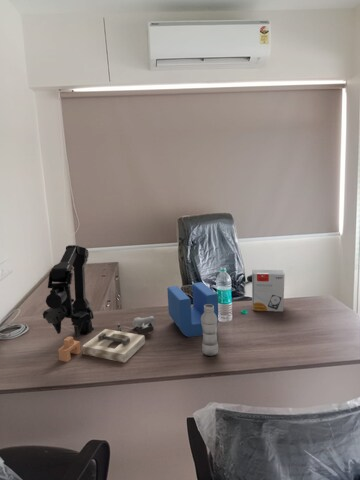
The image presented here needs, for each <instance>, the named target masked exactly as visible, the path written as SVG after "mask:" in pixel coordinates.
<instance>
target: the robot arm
mask: <svg viewBox="0 0 360 480" xmlns="http://www.w3.org/2000/svg"><path fill="white" fill-rule="evenodd" d="M89 256H90V255H89V249H87V248H86V247H83V246H79V245H77V244H70V245H67V246H66V247H65V251H64V253H63V255H62V257H61V259H60V261H59V262H58V263H57V264H55V265H53V267H52V268H51V269H50V271H49V274H48V282H47V289H50V290H49V292H50V293H49V294H48V295H47V296H46V298H45V303H46V305H47V307H49V308H47V309H45V310H43V312H42V319H45V320H46V321H47V324H51V325H52V326H53V327H54V330H55V331H56V333H57V334H58V335H60V334H61V332H62V331H61V330H62V321H64V319H70V321H71V325H72V326H73V329H74V335H75V338H78V337H79V336H80V335H85V336H86V335H87V334H89V333H90V332H92V331H93V330H95V327H93V322H92V320H93V319H94V318H95V316H94V310H93V309H92V308H91V306H90V302H89V301H88V299H87V297H86V276H85V267H86V264H87V262H88V261H89ZM72 268H73V271H72ZM73 277H74V278H73ZM73 279H74V298H75V299H74V298H72V292H71V291H72V290H71V285H72V283H73V282H72V281H73Z"/></svg>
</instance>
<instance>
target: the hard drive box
mask: <svg viewBox="0 0 360 480" xmlns="http://www.w3.org/2000/svg"><path fill="white" fill-rule="evenodd" d="M251 272H252V273H251V275H252V276H251V277H252V278H251V279H252V281H251V307H252V308H251V310H252V311H258V312H276V313H277V312H283V313H284V301H285V298H284V297H285V272H284V270H281V269H278V270H277V269H252V271H251Z"/></svg>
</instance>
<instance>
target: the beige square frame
mask: <svg viewBox="0 0 360 480" xmlns="http://www.w3.org/2000/svg"><path fill="white" fill-rule="evenodd" d="M113 342H117V343H120V344H118V345H117V346H116V347H115V348H112V347H109V346H110V345H111V344H113ZM145 344H146V337H145V334H142V335H138V333H132V332H126V331H121V332H120V331H119V330H113V329H108V328H105V329H103V330H102V331H101V332H100V333H98V334H97V335H95V336H94V337H92V339H90V340H89V341H87V342H86V343H84V344H83V345H82V346H81V347H82V348H81V349H82V354H83V355H87V356H91V357H97V358H101V359H106V360H111V361H116V362H118V363H119V362H120V363H126V362H127V361H128V360H130V358H131V357H132V356H133V355H135V354H136V352H138V351H139V350H140V349H141V348H142V347H143V346H144V345H145Z"/></svg>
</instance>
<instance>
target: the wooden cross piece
mask: <svg viewBox="0 0 360 480" xmlns="http://www.w3.org/2000/svg"><path fill="white" fill-rule="evenodd" d="M81 349H82V348H81V341H78V340H75V339H74V336H66V337H65V338H64V339H63V345H62V346H61V347H59V348H58V349H57V351H58V359H59V361H62V362H66V363H68V362H69V361H71V359H72V357H71V354H73V355H79V354H81V351H82V350H81Z"/></svg>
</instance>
